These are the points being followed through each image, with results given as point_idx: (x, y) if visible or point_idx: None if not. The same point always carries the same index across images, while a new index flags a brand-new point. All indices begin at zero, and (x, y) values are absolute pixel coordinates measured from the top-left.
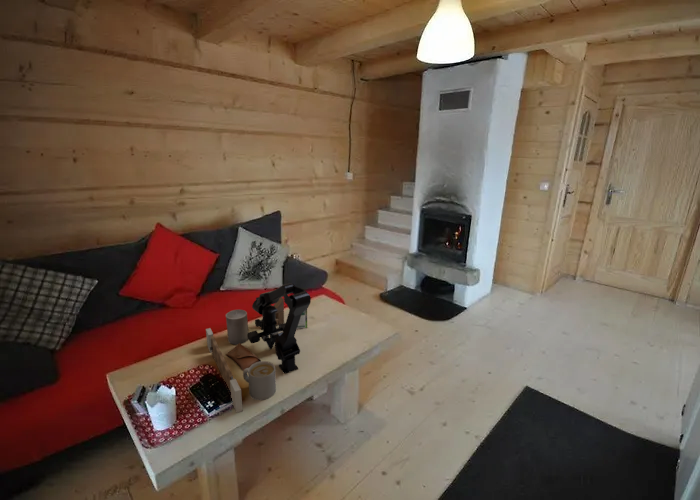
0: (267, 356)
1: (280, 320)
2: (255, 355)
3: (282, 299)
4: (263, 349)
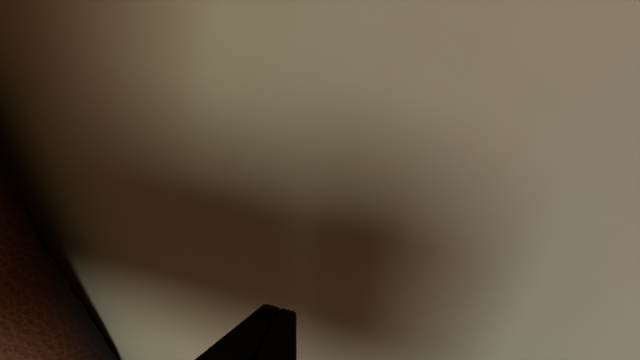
0: (224, 320)
1: None
2: (15, 351)
3: None
4: (230, 148)
